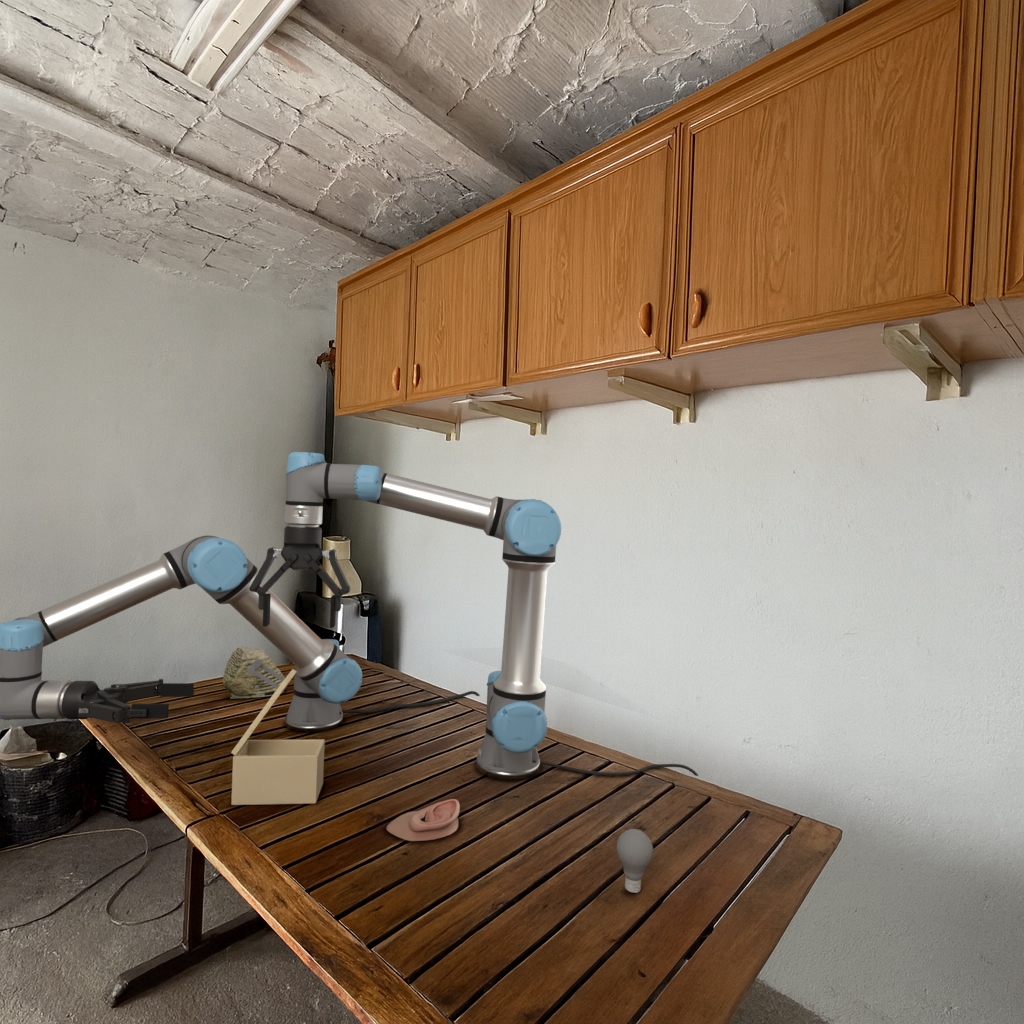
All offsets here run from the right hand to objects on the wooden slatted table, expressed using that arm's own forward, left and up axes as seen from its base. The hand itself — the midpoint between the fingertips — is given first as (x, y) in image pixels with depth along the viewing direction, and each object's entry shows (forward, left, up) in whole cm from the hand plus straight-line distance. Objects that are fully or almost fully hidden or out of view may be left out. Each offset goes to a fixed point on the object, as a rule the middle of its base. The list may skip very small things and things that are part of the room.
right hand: (299, 626), depth 134 cm
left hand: (+23, -5, -16) cm, 28 cm away
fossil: (+9, -71, -36) cm, 80 cm away
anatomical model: (-23, +21, -36) cm, 48 cm away
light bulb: (-52, +51, -36) cm, 81 cm away
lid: (+6, -1, -18) cm, 19 cm away
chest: (+3, -1, -36) cm, 36 cm away
